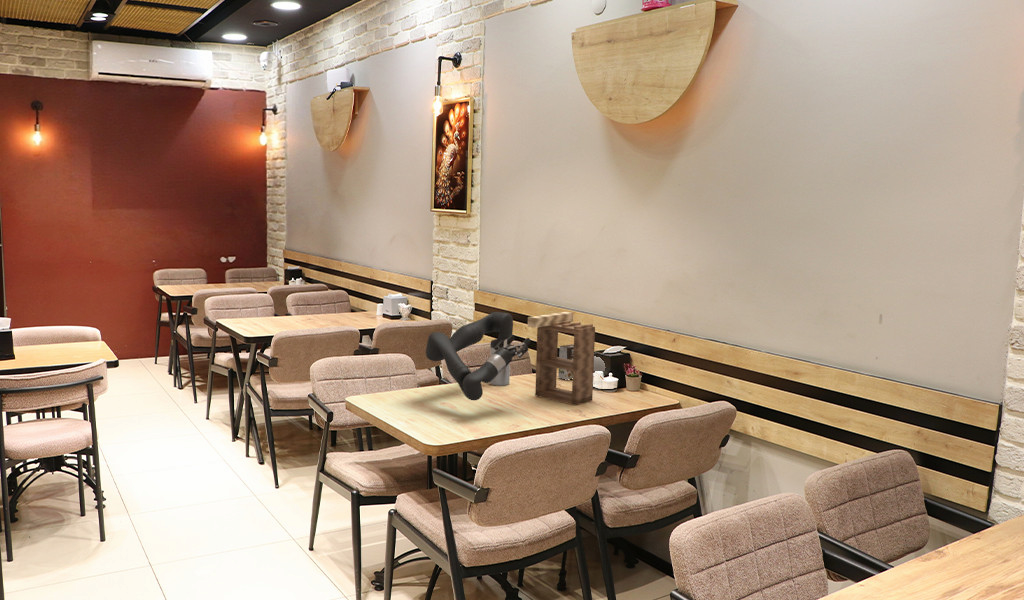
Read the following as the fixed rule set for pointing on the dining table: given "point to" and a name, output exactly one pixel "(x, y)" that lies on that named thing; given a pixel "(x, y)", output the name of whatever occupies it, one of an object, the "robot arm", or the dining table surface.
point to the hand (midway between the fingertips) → (521, 337)
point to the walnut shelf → (565, 362)
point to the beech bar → (549, 319)
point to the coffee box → (566, 353)
